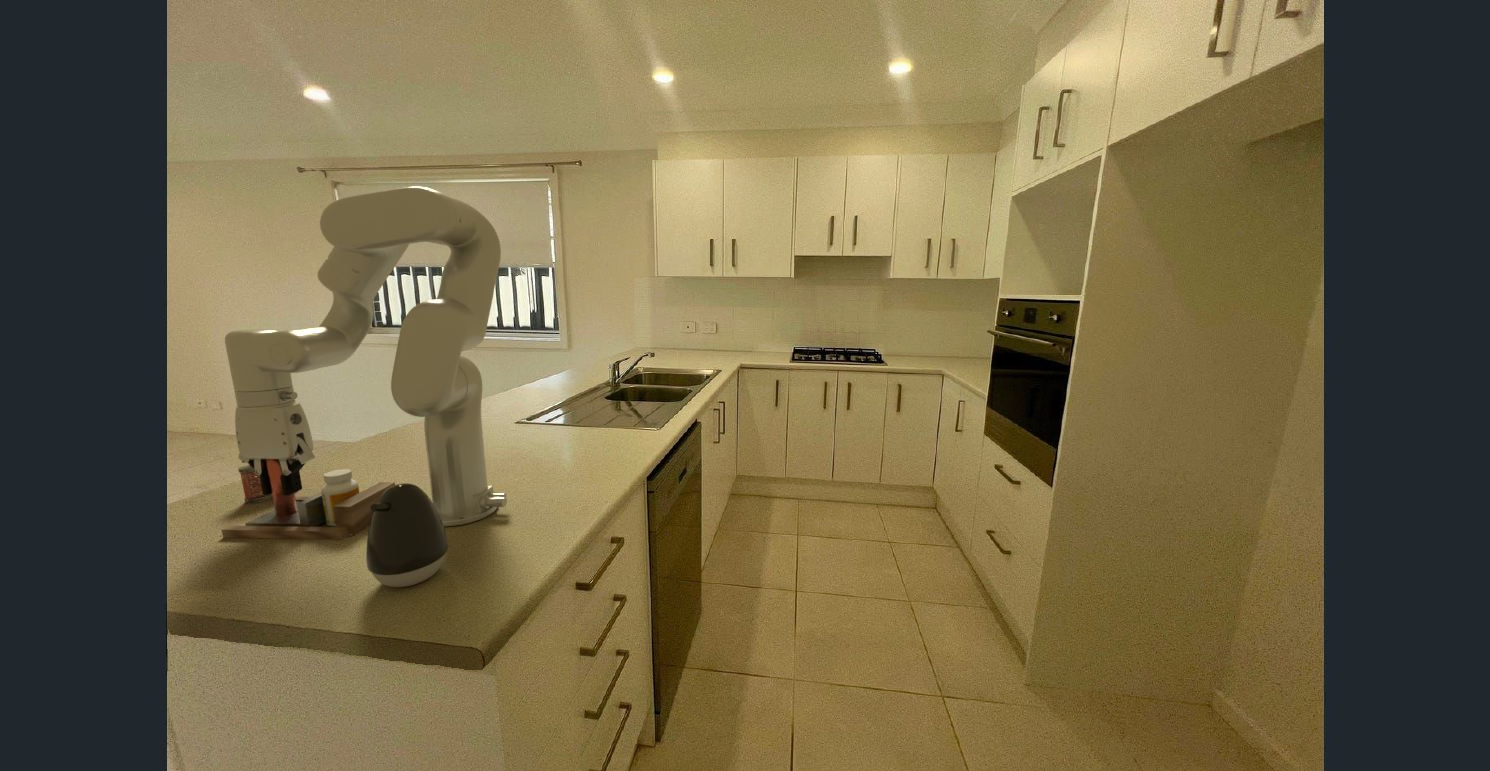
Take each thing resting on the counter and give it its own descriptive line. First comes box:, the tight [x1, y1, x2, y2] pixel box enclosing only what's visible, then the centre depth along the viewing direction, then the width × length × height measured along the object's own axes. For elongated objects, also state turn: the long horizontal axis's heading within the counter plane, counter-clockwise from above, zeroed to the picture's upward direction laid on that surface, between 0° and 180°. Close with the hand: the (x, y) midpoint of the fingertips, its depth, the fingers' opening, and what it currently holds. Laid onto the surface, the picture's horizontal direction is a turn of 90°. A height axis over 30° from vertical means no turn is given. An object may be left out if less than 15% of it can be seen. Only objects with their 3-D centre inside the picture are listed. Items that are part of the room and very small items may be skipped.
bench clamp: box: [221, 481, 396, 540], centre depth 90 cm, size 22×14×6 cm, turn 90°
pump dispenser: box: [365, 482, 449, 588], centre depth 72 cm, size 10×10×15 cm
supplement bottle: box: [320, 468, 360, 527], centre depth 90 cm, size 5×5×10 cm
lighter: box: [237, 460, 297, 504], centre depth 100 cm, size 8×3×10 cm, turn 144°
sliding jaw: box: [244, 459, 326, 527], centre depth 89 cm, size 12×9×13 cm
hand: (283, 491), depth 90 cm, fingers closed on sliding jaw, 3 cm apart
